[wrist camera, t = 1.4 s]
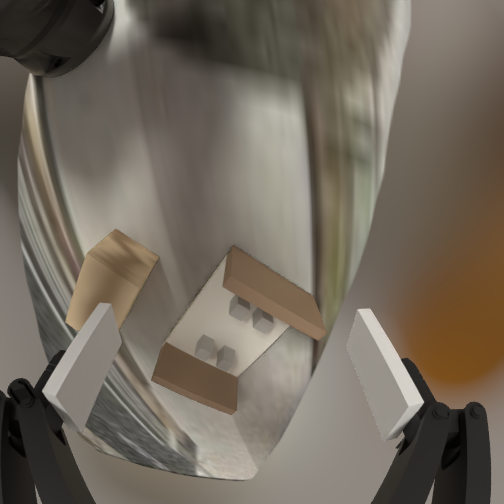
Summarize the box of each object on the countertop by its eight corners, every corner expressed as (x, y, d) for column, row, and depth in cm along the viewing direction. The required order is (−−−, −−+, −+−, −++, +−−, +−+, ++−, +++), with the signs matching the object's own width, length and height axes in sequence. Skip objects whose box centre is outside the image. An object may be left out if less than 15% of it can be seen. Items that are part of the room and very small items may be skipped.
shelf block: (89, 291, 37) (65, 322, 30) (115, 228, 33) (86, 253, 26) (127, 316, 39) (108, 350, 31) (159, 257, 35) (139, 288, 28)
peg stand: (163, 343, 41) (151, 380, 33) (233, 245, 34) (230, 275, 27) (232, 377, 44) (231, 414, 36) (312, 295, 38) (326, 332, 30)
